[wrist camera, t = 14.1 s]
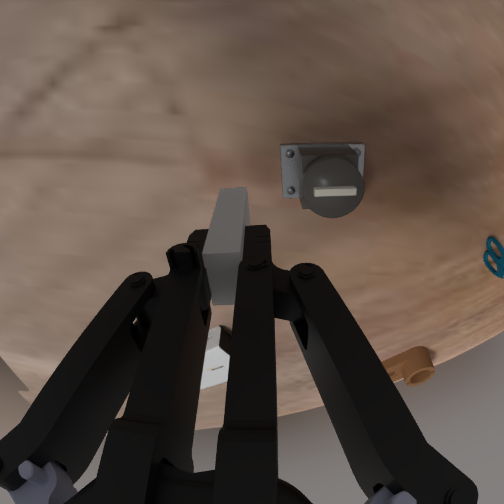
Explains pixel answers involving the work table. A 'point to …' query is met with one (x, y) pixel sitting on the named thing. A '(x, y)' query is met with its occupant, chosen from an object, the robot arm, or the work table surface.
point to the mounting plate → (291, 164)
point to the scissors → (495, 257)
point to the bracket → (410, 366)
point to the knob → (329, 180)
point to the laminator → (216, 358)
